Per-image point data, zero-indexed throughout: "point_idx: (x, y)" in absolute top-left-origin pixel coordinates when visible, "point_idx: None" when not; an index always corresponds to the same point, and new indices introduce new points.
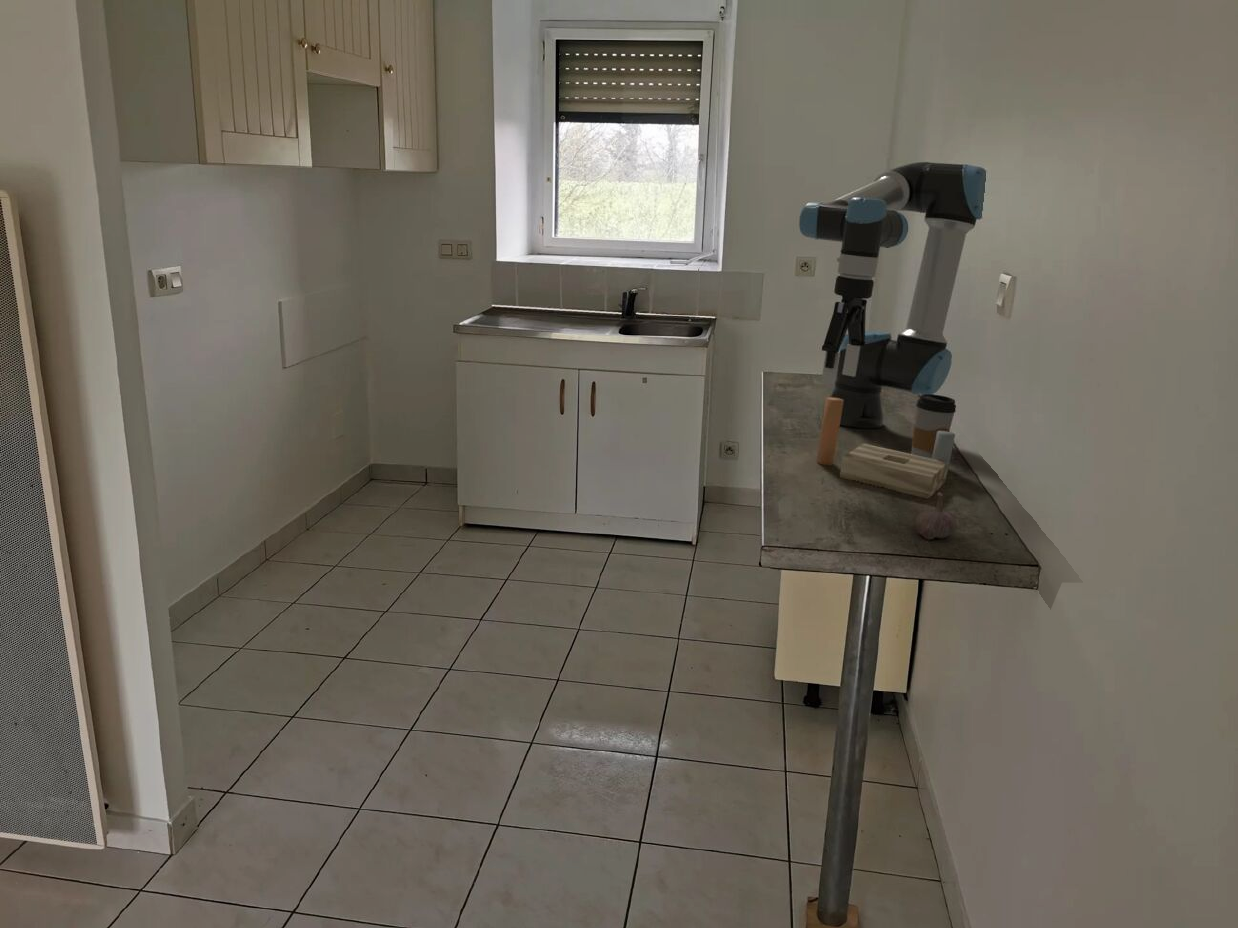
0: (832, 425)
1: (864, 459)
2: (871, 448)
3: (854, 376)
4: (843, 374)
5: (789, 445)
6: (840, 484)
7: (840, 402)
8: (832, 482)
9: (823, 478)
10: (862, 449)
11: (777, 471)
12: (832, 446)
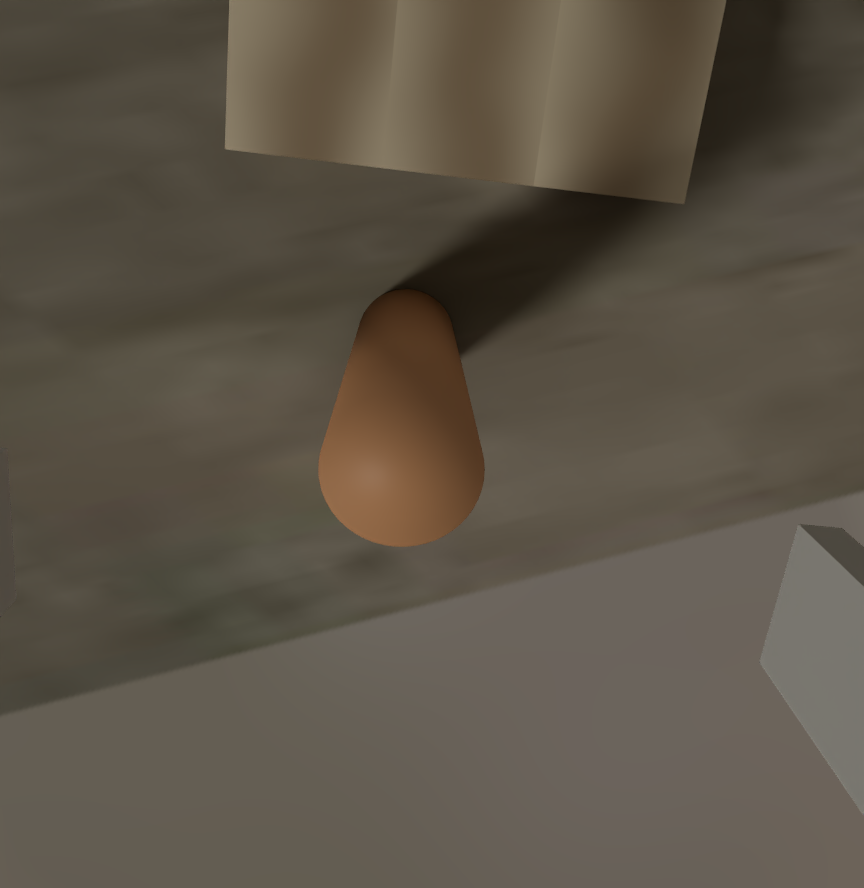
0: (464, 380)
1: (668, 55)
2: (322, 69)
3: (1, 448)
4: (13, 584)
5: (202, 575)
6: (780, 161)
7: (451, 406)
8: (768, 210)
9: (721, 270)
10: (403, 123)
11: (742, 497)
12: (442, 324)
